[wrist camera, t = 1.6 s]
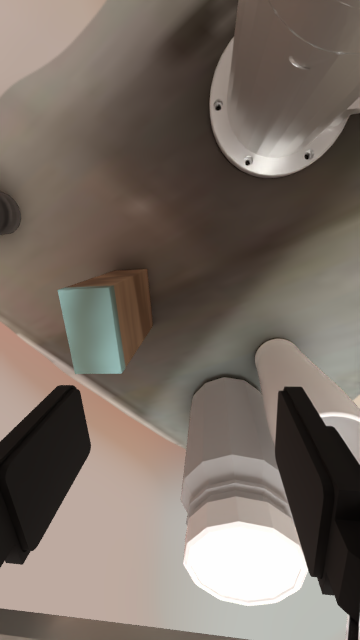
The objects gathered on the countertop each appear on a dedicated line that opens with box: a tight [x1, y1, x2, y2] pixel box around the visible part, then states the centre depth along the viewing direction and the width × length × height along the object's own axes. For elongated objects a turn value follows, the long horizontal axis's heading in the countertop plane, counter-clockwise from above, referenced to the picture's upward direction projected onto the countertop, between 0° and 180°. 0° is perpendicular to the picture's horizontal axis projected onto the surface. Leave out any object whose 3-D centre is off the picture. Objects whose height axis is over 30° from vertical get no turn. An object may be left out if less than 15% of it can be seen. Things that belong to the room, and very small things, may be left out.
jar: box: [181, 377, 308, 606], centre depth 26 cm, size 10×10×18 cm
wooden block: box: [58, 269, 153, 374], centre depth 26 cm, size 4×7×12 cm, turn 4°
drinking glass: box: [255, 339, 360, 464], centre depth 25 cm, size 7×7×15 cm
